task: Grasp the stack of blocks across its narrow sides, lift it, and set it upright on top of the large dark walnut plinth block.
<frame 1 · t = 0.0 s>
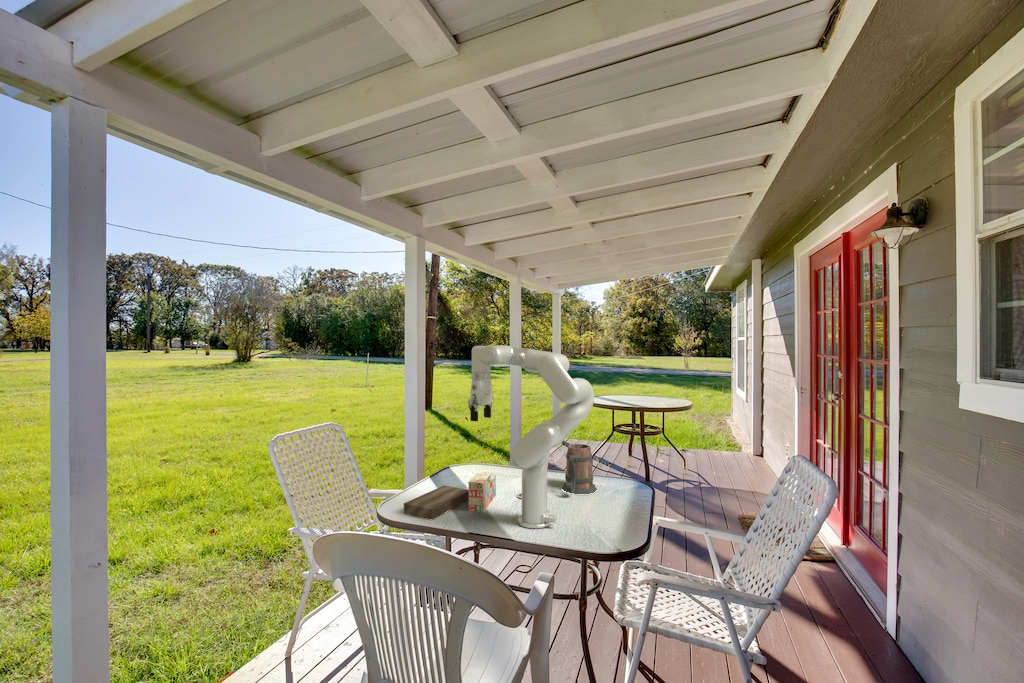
hand: (480, 419, 184), 37 cm above the table, tool pointing down, fingers open, 9 cm apart
plinth: (438, 506, 189), on the table
stack of blocks: (482, 503, 193), on the table
tankard: (576, 491, 209), on the table
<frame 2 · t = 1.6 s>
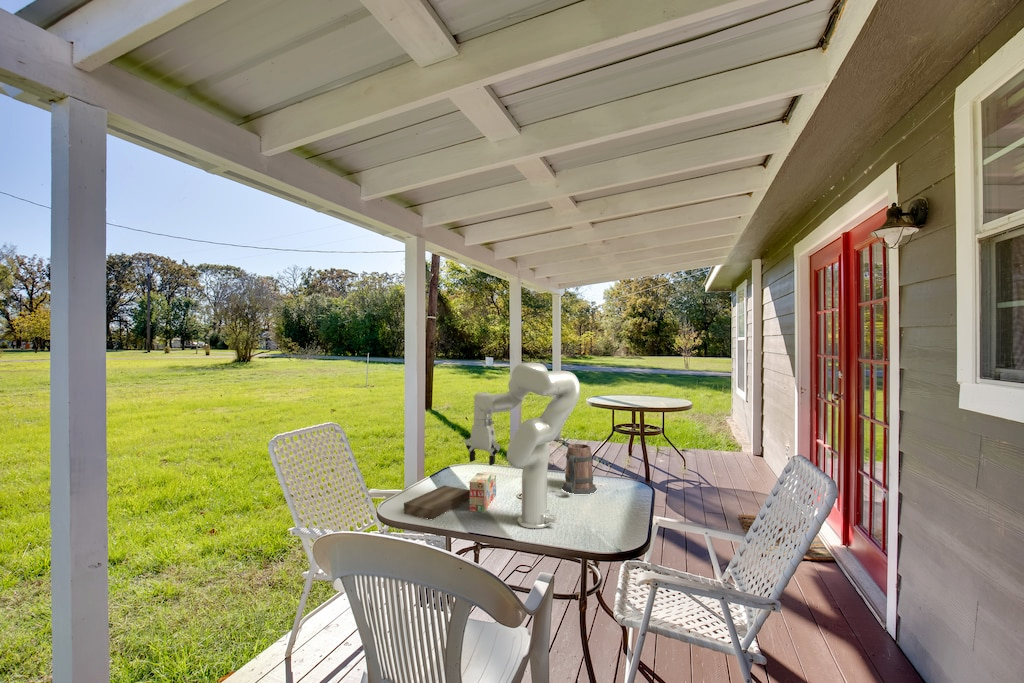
hand: (482, 462, 193), 17 cm above the table, tool pointing down, fingers open, 9 cm apart
nothing on the table moved.
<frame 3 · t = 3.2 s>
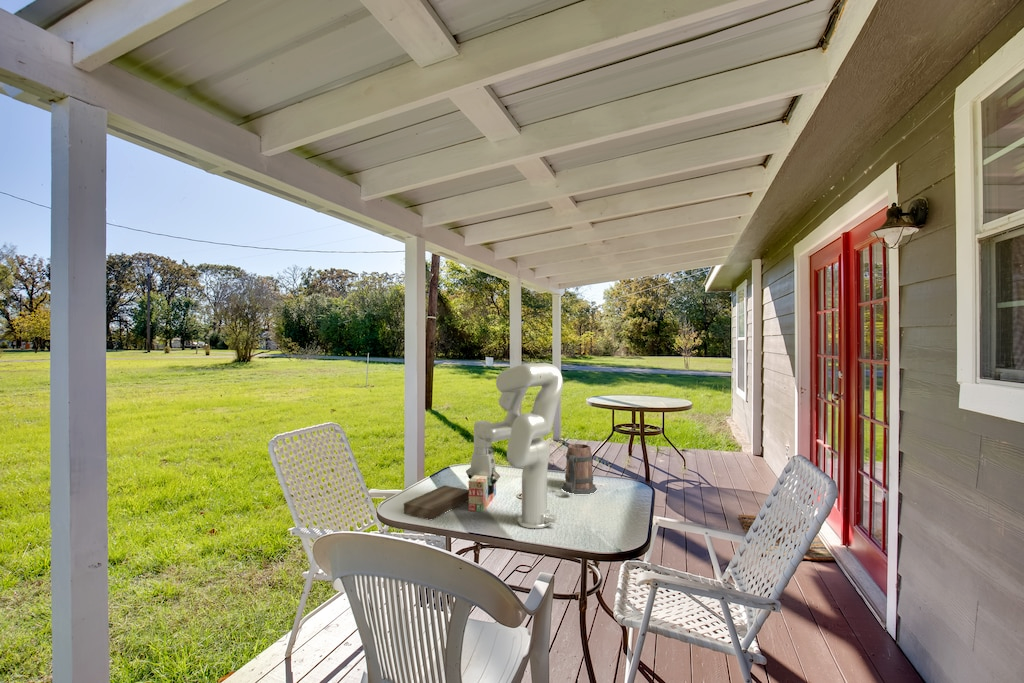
hand: (482, 492, 193), 5 cm above the table, tool pointing down, fingers closed on stack of blocks, 7 cm apart
stack of blocks: (482, 502, 194), on the table, touching gripper
everything else where it was.
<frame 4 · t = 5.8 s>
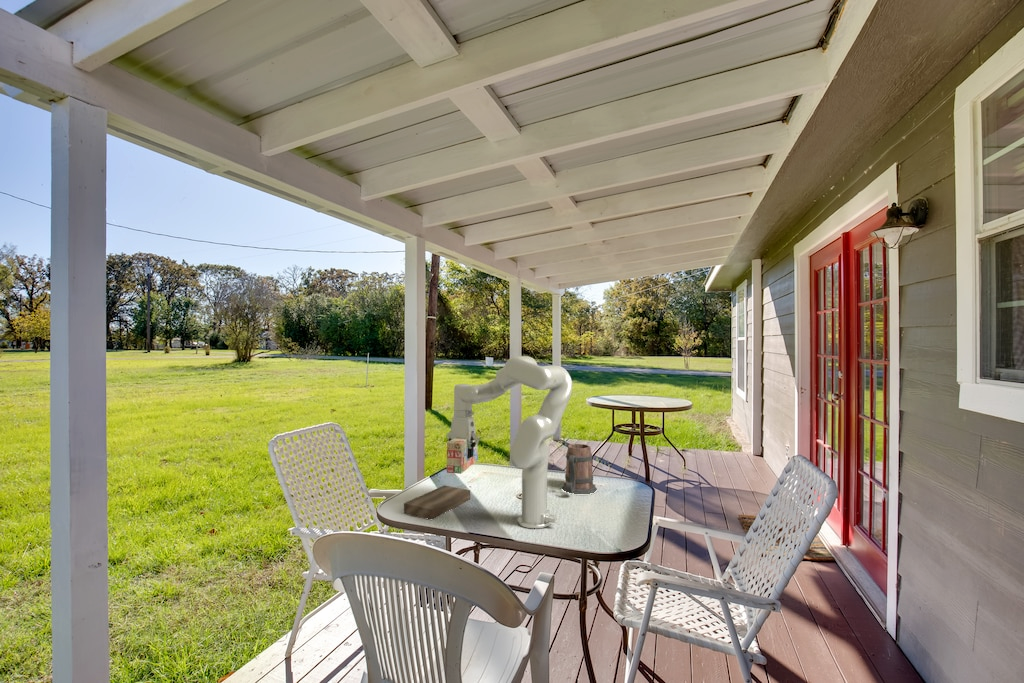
hand: (462, 455, 191), 20 cm above the table, tool pointing down, fingers closed on stack of blocks, 7 cm apart
stack of blocks: (462, 466, 192), point 15 cm above the table, touching gripper
everything else where it was.
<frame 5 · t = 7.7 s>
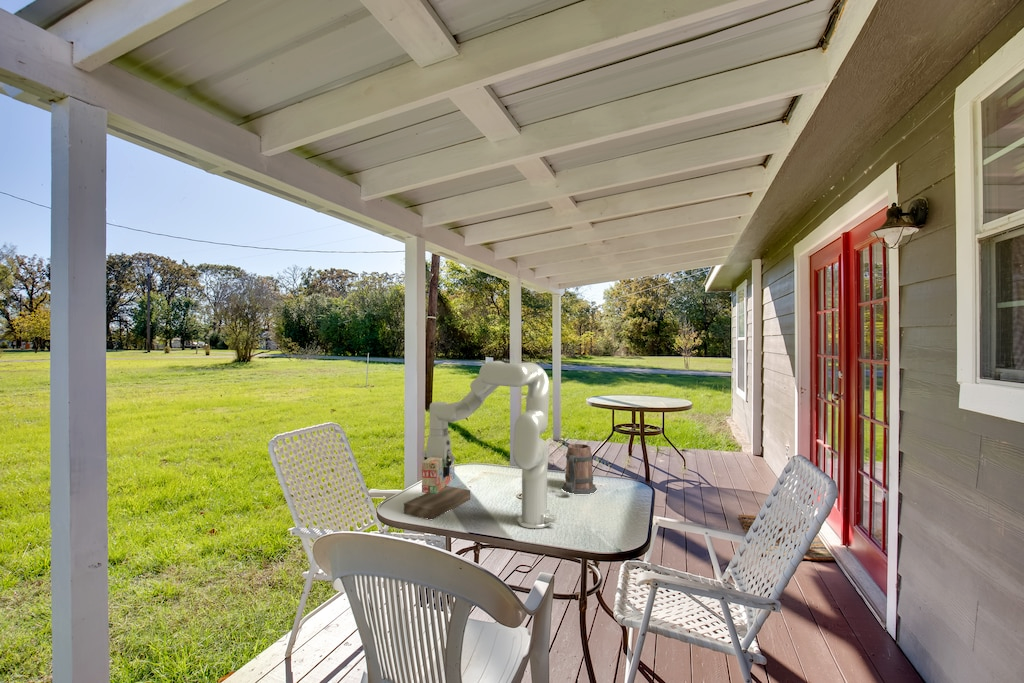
hand: (438, 474, 189), 13 cm above the table, tool pointing down, fingers closed on stack of blocks, 7 cm apart
stack of blocks: (439, 485, 190), point 8 cm above the table, touching gripper
everything else where it was.
when the fingers open (9 cm above the table, at t = 8.9 s): stack of blocks stays where it is, resting on plinth.
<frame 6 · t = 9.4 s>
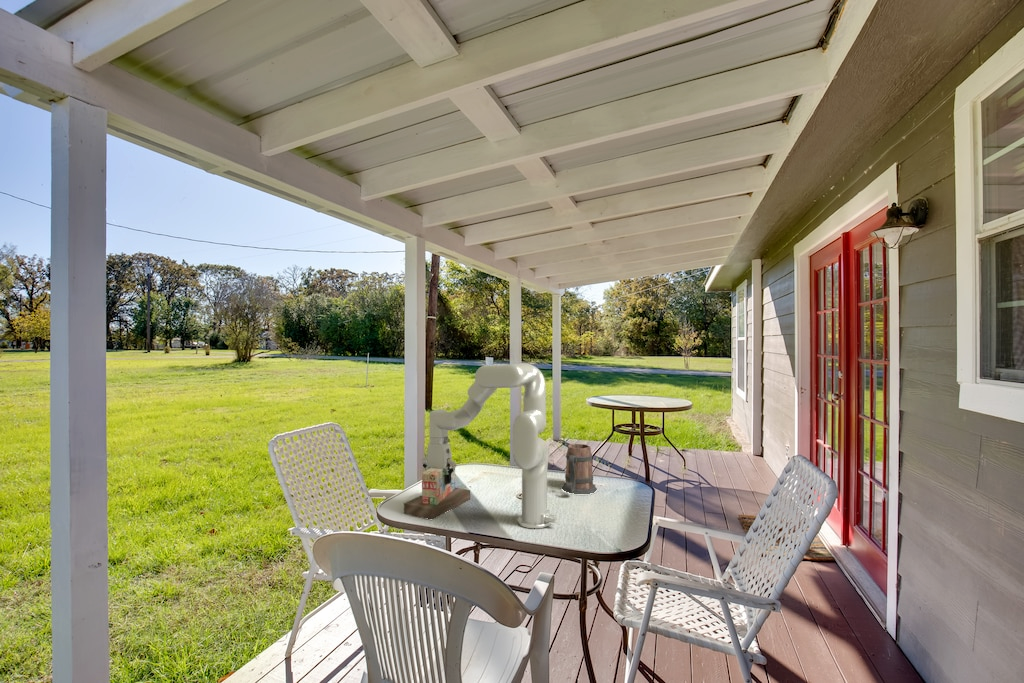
hand: (438, 481, 189), 10 cm above the table, tool pointing down, fingers open, 9 cm apart
stack of blocks: (439, 496, 190), point 4 cm above the table, touching plinth
everything else where it was.
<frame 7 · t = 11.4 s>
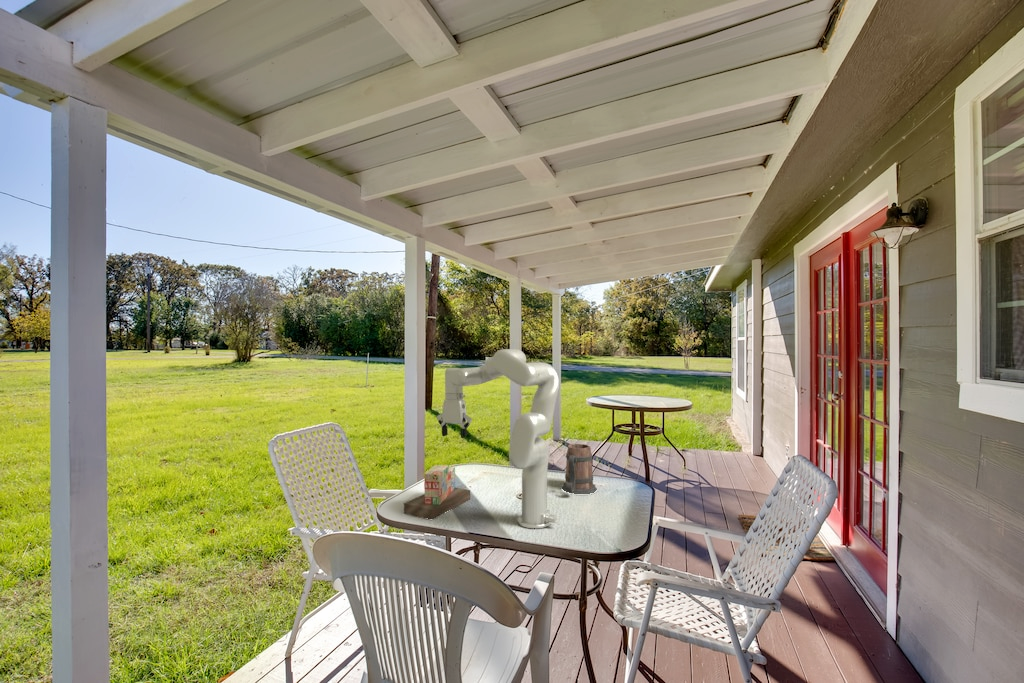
hand: (454, 436, 197), 27 cm above the table, tool pointing down, fingers open, 9 cm apart
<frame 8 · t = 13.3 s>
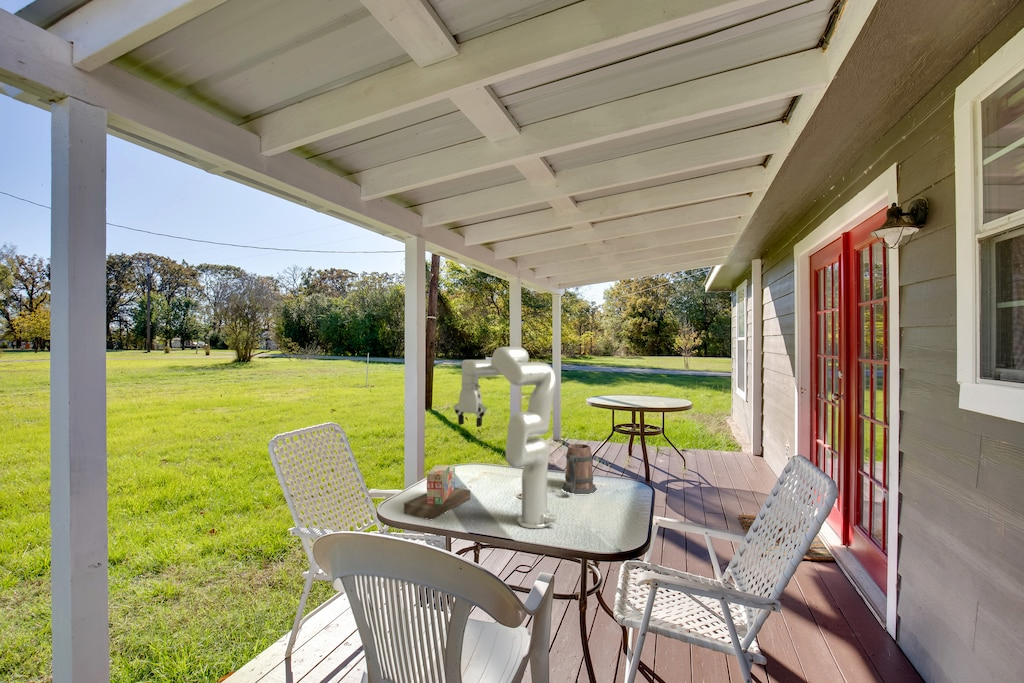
hand: (469, 425, 206), 30 cm above the table, tool pointing down, fingers open, 9 cm apart
at the end: stack of blocks inside the target area on the plinth (1.6 cm from its centre), point 3.8 cm above the plinth's base; stack of blocks tilted 0°; stack of blocks touching plinth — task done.
